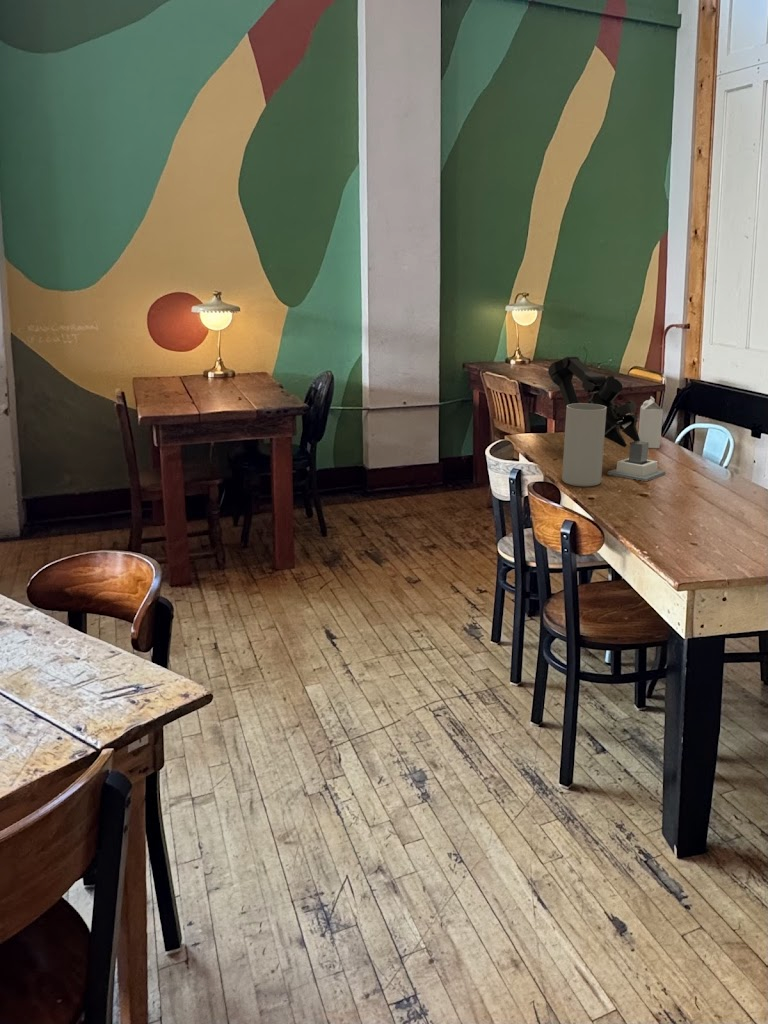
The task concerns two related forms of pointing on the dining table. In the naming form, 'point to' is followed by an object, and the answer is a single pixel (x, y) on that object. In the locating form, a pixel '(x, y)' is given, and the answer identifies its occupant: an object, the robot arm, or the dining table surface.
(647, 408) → the milk carton
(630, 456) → the square bit
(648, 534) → the dining table surface
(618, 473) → the socket block
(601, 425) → the cylinder vase
